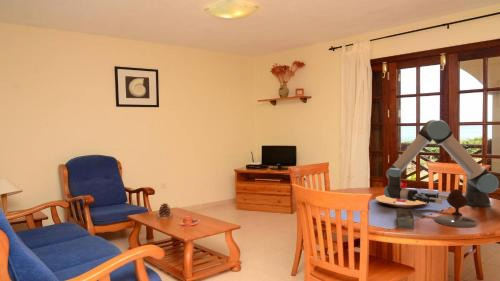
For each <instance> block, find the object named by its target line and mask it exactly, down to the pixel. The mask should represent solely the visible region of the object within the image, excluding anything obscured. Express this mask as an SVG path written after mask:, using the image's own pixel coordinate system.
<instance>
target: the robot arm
mask: <svg viewBox="0 0 500 281" xmlns="http://www.w3.org/2000/svg"><path fill="white" fill-rule="evenodd" d="M448 124H449V123H447V122H446V121H444V120H442V119H431V120H428V121H427V122H425V124H424V125H423V126H422V127H421V129H420V130H419V131H418V132H417V133H416V134H417V136H416V137H415V139H413V140H412V142H411V143H410V144H409V145H408V146H407V147H406V149H405V150H404V151H403V152H402V154H401V155H400V156H399V157H398V159H397V160H396V161H395V162H394V163H393V164H392V165H391V166H390V167H389V168H388V169H387V170H386V171H385V176H386V178H387V180H388V184H387V185H386V186H385V187H384V190H383V195H384V196H385V197H386V198H389V199H395V200H402V201H404V202H406V201H409V202H416V201H418V202H422V203H426V204H430V203H432V204H437V205H442V204H443V201H442V200H444V201H447V197H448V196H449V194H448V195H447V194H440V193H439V192H437V193H436V192H434V193H431V192H424V191H423V192H422V191H421V192H418V190H417V189H413V188H408V187H407V188H406V187H401V186H402V185H401V184H402V180H401V179H402V173H403V172H404V171H405V169H406V168H407V167H408V166H409V165H410V163H412V161H413V160H414V159H415V158H416V157H417V156H418V155H419V153H421V151H422V150H423V149H424V148H425V146H427V144H431V143H432V141H433V142H434V143H435V144H436V145H438V146H441V147H442V148H443V150H445V151H446V153H448V154H449V156H450V157H451V158H452V159H453V160H454V161H455V162H456V164H458V165H459V167H460V168H461V169H462V170H463V171H464V172H465V174H466V191H465V194H464V195H463V196H464V197H465V198H466V199H468V203H467V204H466V205H465V206H472V207H483V208H484V207H485V208H486V207H490V206H491V203H492V202H491V200H490V197H489V194H491V193H494V192H496V190H498V188H499V185H500V182H499V179H498V178H497V176H495V175H494V174H492V173H491V172H490V171H489V169H487V167H486V166H481V165H480V164H479V163H478V162H477V161H476V160H475V158H474V157H473V156H472V155H471V154H470V153H469V152H468V151H467V150H466V149H465V147H464V146H462V144H461V143H460V142H459V141H458V140H457V139H456V138H455V136H454V133H455V132H453V131H452V129H450V126H449V125H448Z"/></svg>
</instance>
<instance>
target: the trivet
mask: <svg viewBox="0 0 500 281" xmlns="http://www.w3.org/2000/svg"><path fill="white" fill-rule="evenodd" d="M433 221H434V222H435V223H437V224H440V225H444V226H448V227H454V228H474V227H477V225H478V223H477V221H475V220H473V219H471V218H467V217H462V216H454V215H438V216H437V215H436V216H434V217H433Z"/></svg>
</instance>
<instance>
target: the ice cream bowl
mask: <svg viewBox="0 0 500 281" xmlns="http://www.w3.org/2000/svg"><path fill="white" fill-rule="evenodd" d="M464 196H465V195H463V192H462V190H460V189H457V188H455V189H451V191H450V192H449V193H448V197H447V200H446V201H447V204H449V205H450V206H451V207H453V208H454V209H455V210H454V212H451V216H456V217H462V216H463V214H462V213H461V212H459V210H460V209H461V208H463V207H466V206H467V205H466V204H467V203H468V199H466V198H465V197H464Z"/></svg>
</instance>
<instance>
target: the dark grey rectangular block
mask: <svg viewBox="0 0 500 281" xmlns="http://www.w3.org/2000/svg"><path fill="white" fill-rule="evenodd" d="M395 216H396V218H395V219H396V225H397V228H400V229H409V230H410V229H412V230H414V229H415V218H414V214H413V210H412V209H411V208H405V207H404V208H399V207H397V208H396V215H395Z"/></svg>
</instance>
